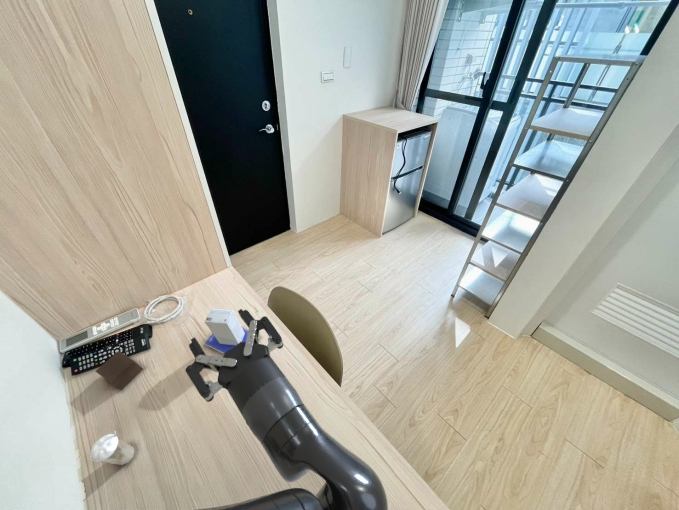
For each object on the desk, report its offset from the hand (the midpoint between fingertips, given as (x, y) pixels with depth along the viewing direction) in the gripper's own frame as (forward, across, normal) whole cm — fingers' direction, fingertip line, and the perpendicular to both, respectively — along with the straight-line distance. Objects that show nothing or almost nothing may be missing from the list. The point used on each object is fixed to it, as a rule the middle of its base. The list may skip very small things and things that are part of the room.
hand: (218, 325), depth 48 cm
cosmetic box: (+15, -2, +29) cm, 33 cm away
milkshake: (+6, +27, +30) cm, 41 cm away
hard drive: (+15, -2, +30) cm, 34 cm away
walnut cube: (+26, +23, +30) cm, 46 cm away
